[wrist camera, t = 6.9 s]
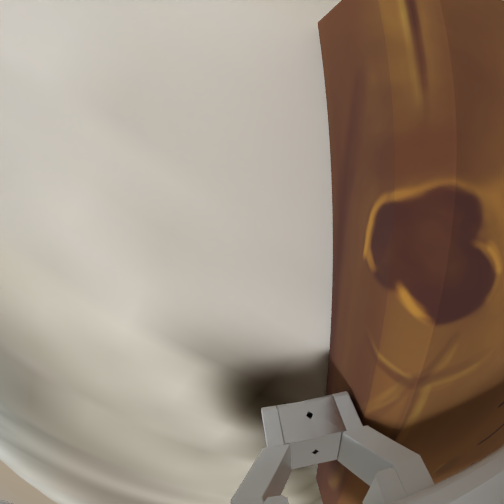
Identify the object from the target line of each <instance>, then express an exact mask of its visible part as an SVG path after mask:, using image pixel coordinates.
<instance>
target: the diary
mask: <svg viewBox="0 0 504 504" xmlns="http://www.w3.org/2000/svg"><path fill="white" fill-rule="evenodd" d="M318 29H319V36H320V43H321V51H322V60H323V68H324V77H325V87H326V98H327V109H328V122H329V136H330V153H331V173H332V203H333V287H332V317H331V337H330V354H329V368H328V381H327V392H326V395H330V394H331V395H332V394H336V393H340V392H344V391H347V392H348V393H349V396H350V398H351V400H352V402H353V405H354V407H355V409H356V411H357V414H358V416H359V418H360V420H361V423H362V425H363V426H366V425H368V426H369V427H371V428H373V429H374V430H376V431H378V432H380V433H381V434H383V435H385V436H386V437H388V438H390V439H392V440H393V441H395V442H397V443H399V444H400V445H402V446H404V447H406V448H408V449H409V450H411V451H413V452H415V453H417V454H419V455H420V456H421V458H422V460H423V462H424V464H425V466H426V468H427V470H428V472H429V474H430V476H431V478H432V480H433V482H434V484H436V483H439V482H441V481H443V480H445V479H447V478H449V477H451V476H453V475H454V474H456V473H458V472H460V471H462V470H464V469H466V468H467V467H469V466H471V465H473V464H474V463H476V462H478V461H479V460H481V459H483V458H484V457H486V456H488V455H489V454H491V453H492V452H494V451H496V450H497V449H499V448H500V447H502V446H503V445H504V1H503V0H342V1H341V2H340V3H338V4H337V5H336V6H335V7H334V8H333V9H332V10H331V11H330V12H329V13H328V14H327V15H326V16H324V17H323V18H322V19H321V20H320V21H319V22H318ZM316 479H317V483H318V486H319V490H320V494H321V498H322V501H323V504H363V503H362V502H363V500H364V498H365V496H366V494H367V492H368V490H369V488H370V486H369V485H368V484H367V483H365V482H364V481H363V480H361V479H360V478H359V477H358V476H356V475H355V474H354V473H352V472H351V471H350V470H349V469H347V468H346V467H345V466H344V465H343V464H341V463H340V462H339V461H338V459H337V460H332V461H328V462H323V463H318V469H317V476H316Z"/></svg>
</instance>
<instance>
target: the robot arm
mask: <svg viewBox="0 0 504 504" xmlns="http://www.w3.org/2000/svg"><path fill="white" fill-rule="evenodd" d="M261 413H262V419H263V425H264V432H265V438H266V444H267V447H265V448H262V450H261V452H260V453H259V455H258V457H257V458H256V460H255V462H254V463H253V465H252V467H251V468H250V470H249V472H248V473H247V475H246V477H245V478H244V480H243V482H242V483H241V485H240V486H239V488H238V490H237V491H236V493H235V494H234V496H233V497H232V499H231V504H289V503H288V498H287V497H285V496H283V495H281V493H282V491H283V489H284V486H285V484H286V482H287V480H288V478H289V475H290V473H291V471H292V470H291V469H296V468H300V467H305V466H309V465H313V464H318V463H323V462H328V461H332V460H337V459H338V461H339V462H340V463H341V464H343V465H344V466H345V467H346V468H347V469H349V470H350V471H351V472H352V473H354V474H355V475H356V476H358V477H359V478H360V479H361V480H363V481H364V482H365V483H367V484H368V485H369V486H370V488H369V490H368V492H367V494H366V496H365V498H364V500H363V502H362V503H363V504H504V445H503V446H502V447H500V448H499V449H497V450H496V451H494V452H492V453H491V454H489V455H488V456H486V457H484V458H483V459H481V460H479V461H478V462H476V463H474V464H473V465H471V466H469V467H467V468H466V469H464V470H462V471H460V472H458V473H456V474H454V475H453V476H451V477H449V478H447V479H445V480H443V481H441V482H439V483H436V484H434V482H433V480H432V478H431V476H430V474H429V472H428V470H427V468H426V466H425V464H424V462H423V460H422V458H421V456H420V455H419V454H417V453H415V452H413V451H411V450H409V449H408V448H406V447H404V446H402V445H400V444H399V443H397V442H395V441H393V440H392V439H390V438H388V437H386V436H385V435H383V434H381V433H380V432H378V431H376V430H374V429H373V428H371V427H369V426H368V425H366V426H363V425H362V423H361V420H360V418H359V416H358V414H357V411H356V409H355V407H354V405H353V402H352V400H351V398H350V396H349V393H348V392H347V391H344V392H340V393H336V394H332V395H331V394H330V395H326V396H322V397H318V398H313V399H309V400H304V401H301V402H295V403H289V404H282V405H277V406H269V407H262V408H261ZM0 504H12V503H10V502H7V501H4V500H0Z"/></svg>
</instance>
